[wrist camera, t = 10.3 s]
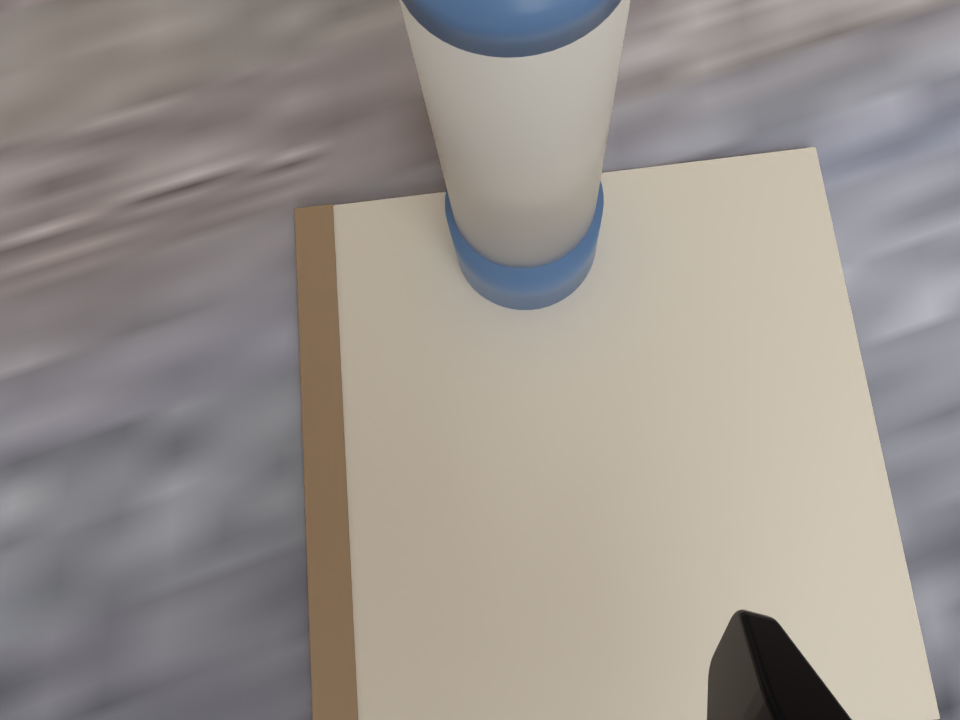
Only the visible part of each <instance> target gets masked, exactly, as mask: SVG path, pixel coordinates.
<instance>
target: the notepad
mask: <svg viewBox="0 0 960 720" xmlns="http://www.w3.org/2000/svg"><path fill="white" fill-rule="evenodd" d="M601 183H602V188H603V194H604V207H603V215H602V220H601V225H600V230H599V236H598V241H597V246H596V251H595V256H594V260H593V264H592V266H591V269H590V271H589V273H588V275H587V276H586V278H585V280H584V281H583V282H582V283H581V285H580V286H579V287H578V288H577V289H576V290H575V291H574V292H573V293H572V294H570V295H569V296H568V297H566V298H565V299H563V300H561V301H560V302H558V303H556V304H553V305H551V306H548V307H544V308H541V309H534V310H516V309H510V308H506V307H502V306H499V305H497V304H494V303H492V302H491V301H489V300H487V299H485V298H484V297H483V296H481V295H480V294H479V293H478V292H477V291H475V290H474V289H473V288H472V286H471V285H470V284H469V283H468V281H467V280H466V278H465V276H464V275H463V273H462V271H461V268H460V266H459V262H458V259H457V255H456V251H455V248H454V244H453V241H452V237H451V233H450V230H449V226H448V222H447V218H446V213H445V195H446V192H440V193H432V194H423V195H415V196H407V197H398V198H390V199H382V200H374V201H365V202H357V203H349V204H341V205H333V204H328V205H320V206H312V207H304V208H295V209H294V210H295V238H296V266H297V294H298V322H299V350H300V378H301V406H302V434H303V462H304V490H305V518H306V546H307V574H308V602H309V630H310V657H311V685H312V713H313V720H707V696H708V673H709V667H710V663H711V659H712V657H713V654H714V652H715V650H716V648H717V646H718V644H719V642H720V640H721V638H722V636H723V634H724V632H725V629H726V627H727V625H728V623H729V621H730V619H731V617H732V616H733V614H734V613H735V612H736V611H738V610H742V609H743V610H748V611H752V612H756V613H759V614H763V615H767V616H770V617H772V618H774V619H775V620H776V621H777V622H778V623H779V624H780V625H781V626H782V628H783V629H784V630H785V632H786V633H787V634H788V636H789V637H790V638H791V640H792V641H793V642H794V644H795V645H796V646H797V648H798V649H799V650H800V652H801V653H802V654H803V656H804V657H805V658H806V660H807V661H808V662H809V664H810V665H811V666H812V668H813V669H814V670H815V671H816V673H817V674H818V675H819V677H820V678H821V679H822V681H823V682H824V683H825V685H826V686H827V687H828V689H829V690H830V691H831V693H832V694H833V695H834V697H835V698H836V699H837V701H838V702H839V703H840V705H841V706H842V707H843V709H844V710H845V711H846V713H847V714H848V715H849V717H850V718H851V719H852V720H933V719H940V716H939V711H938V707H937V702H936V697H935V693H934V688H933V684H932V679H931V675H930V670H929V665H928V661H927V656H926V652H925V647H924V642H923V638H922V633H921V629H920V624H919V619H918V615H917V610H916V606H915V601H914V596H913V592H912V587H911V583H910V578H909V574H908V569H907V564H906V560H905V555H904V551H903V546H902V541H901V537H900V532H899V528H898V523H897V518H896V514H895V509H894V505H893V500H892V495H891V491H890V486H889V482H888V477H887V473H886V468H885V463H884V459H883V454H882V450H881V445H880V440H879V436H878V431H877V427H876V422H875V417H874V413H873V408H872V404H871V399H870V395H869V390H868V385H867V381H866V376H865V372H864V367H863V362H862V358H861V353H860V349H859V344H858V339H857V335H856V330H855V326H854V321H853V316H852V312H851V307H850V303H849V298H848V294H847V289H846V284H845V280H844V275H843V271H842V266H841V261H840V257H839V252H838V248H837V243H836V238H835V234H834V229H833V225H832V220H831V215H830V211H829V206H828V202H827V197H826V193H825V188H824V183H823V179H822V174H821V170H820V165H819V160H818V156H817V151H816V147H812V148H803V149H795V150H787V151H778V152H770V153H762V154H754V155H745V156H737V157H729V158H721V159H712V160H704V161H696V162H688V163H679V164H671V165H663V166H655V167H646V168H638V169H630V170H622V171H613V172H605V173H602V174H601Z"/></svg>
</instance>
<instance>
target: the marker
mask: <svg viewBox="0 0 960 720" xmlns="http://www.w3.org/2000/svg"><path fill="white" fill-rule="evenodd" d="M399 1H400V5H401V9H402V13H403V17H404V21H405V25H406V29H407V33H408V37H409V41H410V45H411V49H412V53H413V57H414V61H415V65H416V69H417V73H418V77H419V81H420V85H421V89H422V92H423V96H424V100H425V104H426V108H427V112H428V116H429V120H430V124H431V128H432V132H433V136H434V140H435V144H436V148H437V152H438V156H439V160H440V164H441V168H442V172H443V176H444V180H445V184H446V188H447V189H446V195H445V213H446V218H447V222H448V226H449V230H450V233H451V237H452V241H453V244H454V248H455V251H456V255H457V259H458V262H459V266H460V268H461V271H462V273H463V275H464V276H465V278H466V280H467V281H468V283H469V284H470V285H471V286H472V288H473V289H474V290H475V291H477V292H478V293H479V294H480V295H481V296H483V297H484V298H485V299H487V300H489V301H491V302H492V303H494V304H497V305H499V306H502V307H506V308H510V309H516V310H534V309H541V308H544V307H548V306H551V305H553V304H556V303H558V302H560V301H561V300H563V299H565V298H566V297H568V296H569V295H570V294H572V293H573V292H574V291H575V290H576V289H577V288H578V287H579V286H580V285H581V283H582V282H583V281H584V280H585V278H586V276H587V275H588V273H589V271H590V269H591V266H592V264H593V260H594V256H595V251H596V246H597V241H598V236H599V230H600V225H601V220H602V215H603V207H604V194H603V188H602V183H601V174H602V168H603V162H604V156H605V150H606V144H607V138H608V132H609V126H610V120H611V114H612V108H613V102H614V96H615V90H616V84H617V78H618V72H619V66H620V60H621V54H622V48H623V42H624V36H625V30H626V24H627V18H628V12H629V6H630V0H399Z"/></svg>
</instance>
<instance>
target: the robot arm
mask: <svg viewBox="0 0 960 720" xmlns="http://www.w3.org/2000/svg"><path fill="white" fill-rule="evenodd" d="M707 720H852V719H851V718H850V717H849V715H848V714H847V713H846V711H845V710H844V709H843V707H842V706H841V705H840V703H839V702H838V701H837V699H836V698H835V697H834V695H833V694H832V693H831V691H830V690H829V689H828V687H827V686H826V685H825V683H824V682H823V681H822V679H821V678H820V677H819V675H818V674H817V673H816V671H815V670H814V669H813V668H812V666H811V665H810V664H809V662H808V661H807V660H806V658H805V657H804V656H803V654H802V653H801V652H800V650H799V649H798V648H797V646H796V645H795V644H794V642H793V641H792V640H791V638H790V637H789V636H788V634H787V633H786V632H785V630H784V629H783V628H782V626H781V625H780V624H779V623H778V622H777V621H776V620H775V619H774V618H772V617H770V616H767V615H763V614H759V613H756V612H752V611H748V610H743V609H742V610H738V611H736V612H735V613H734V614H733V616H732V617H731V619H730V621H729V623H728V625H727V627H726V629H725V632H724V634H723V636H722V638H721V640H720V642H719V644H718V646H717V648H716V650H715V652H714V654H713V657H712V659H711V663H710V667H709V673H708V696H707Z"/></svg>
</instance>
